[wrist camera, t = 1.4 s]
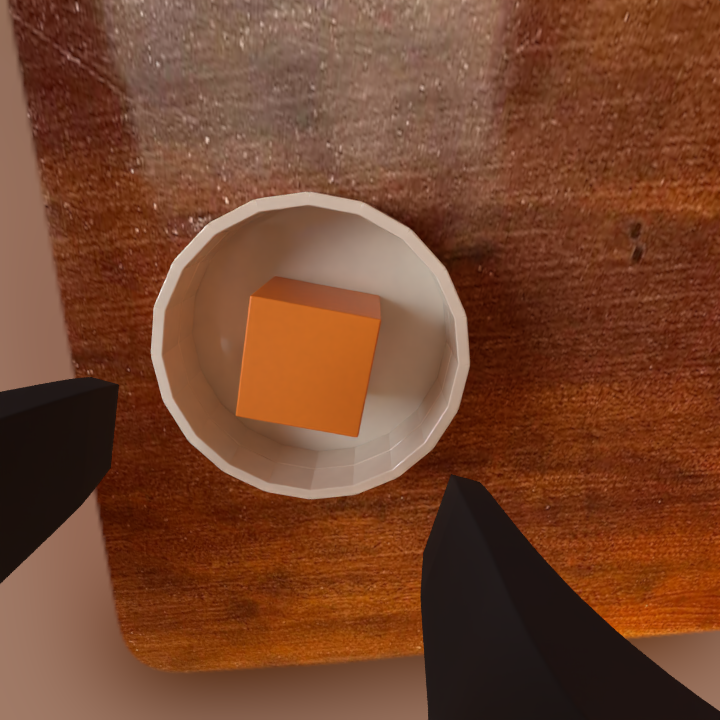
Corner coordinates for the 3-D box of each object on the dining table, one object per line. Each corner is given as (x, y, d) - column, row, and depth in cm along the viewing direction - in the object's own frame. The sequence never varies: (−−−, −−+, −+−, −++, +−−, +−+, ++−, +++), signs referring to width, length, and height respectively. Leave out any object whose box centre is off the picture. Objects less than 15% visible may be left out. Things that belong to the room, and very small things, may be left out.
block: (260, 375, 20) (234, 416, 17) (274, 275, 19) (249, 295, 15) (360, 393, 20) (357, 438, 17) (380, 295, 19) (381, 319, 15)
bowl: (178, 428, 22) (143, 471, 18) (200, 169, 19) (162, 162, 15) (421, 471, 22) (430, 520, 19) (482, 223, 19) (506, 229, 16)
